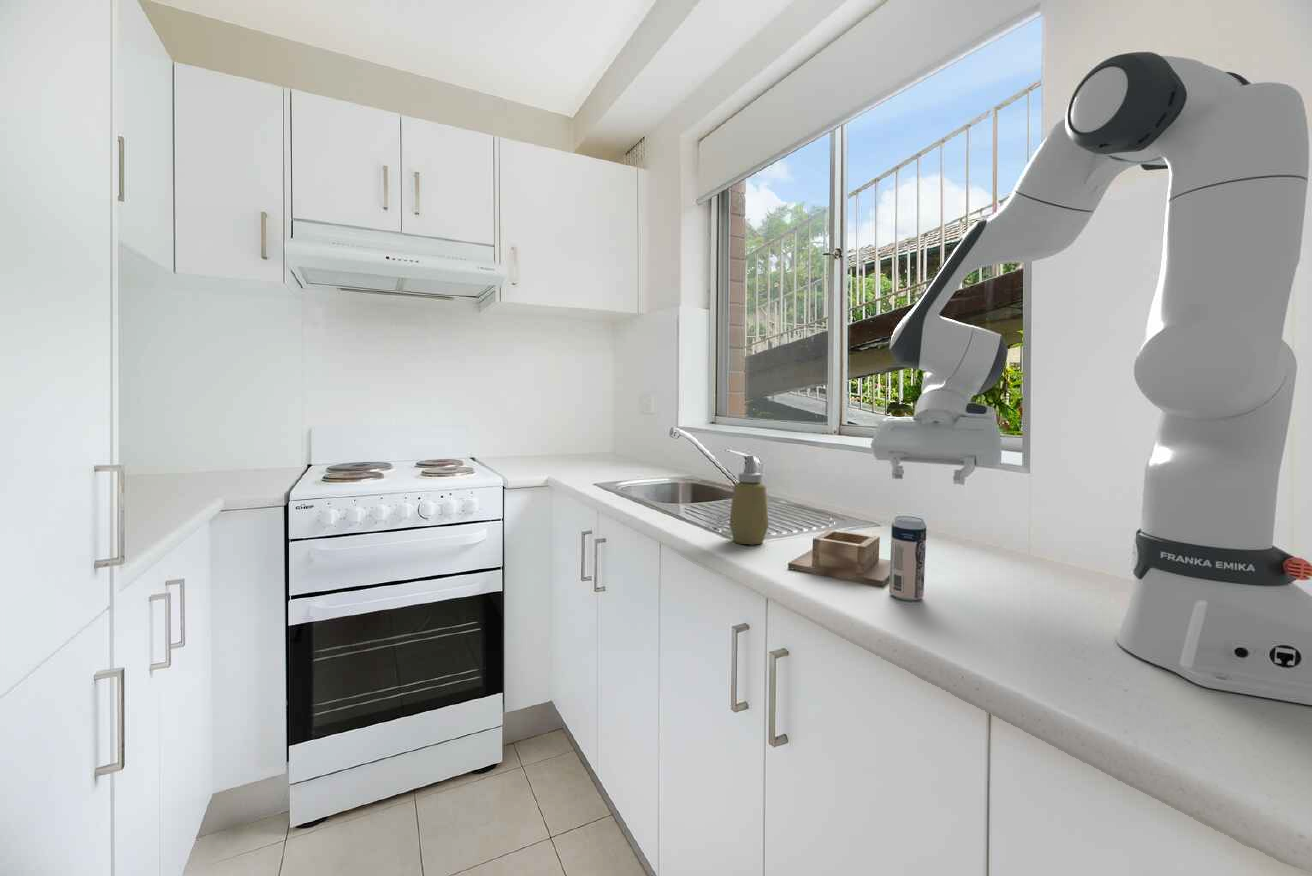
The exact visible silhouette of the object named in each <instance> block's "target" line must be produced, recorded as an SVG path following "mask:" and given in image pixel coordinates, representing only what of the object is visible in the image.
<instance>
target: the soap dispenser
mask: <svg viewBox="0 0 1312 876" xmlns="http://www.w3.org/2000/svg"><path fill="white" fill-rule="evenodd" d="M745 461H746V462H745V465H744V469H743V472H739V473H738V482H736V483H735V484H734V485H733V491H732V499H731V500H732V501H731V506H730V508H731V509H730V515H729V528H730V532H731V535H732V538H733V541H734V540H735V541H734V542H735V543H738V544H741V545H745V544H750V545H749V546H754V545H755V544H756V545H760V544H762V543H764V540H765V537H766V534H767V530H768V528H769V514H768V513H769V512H768V502H767V501H768V499H767V487H766V485H765V484H763V483H761V482H762V473H760V472H757V468H756V464H755V457H754V455H747V457H746V460H745Z"/></svg>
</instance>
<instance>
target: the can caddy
mask: <svg viewBox="0 0 1312 876" xmlns="http://www.w3.org/2000/svg"><path fill="white" fill-rule="evenodd" d="M880 538H881V537H880V536H879V535H871V534H865V533H857V532H850V531H845V530H839V529H838V530H837V529H829V530H826V531H824V532H823V533H820V534H819V535H817V536H815V537H813V538H812V549H810V550H809V551H807V552H805V553H804V554H802V555H800V556H798V557H796V558H794V559H793V560H791V561H789V562H788V563H787V569H788V568H793V569H797V570H796V571H798V570H802V571H801V572H803V571H805V572H804V573H808V572H809V574H813V575H814V574H815V575H818V574H821V575H820V576H823V575H824V577H829V578H834V579H840V580H843V581H849V582H856V583H860V584H864V585H872V586H875V587H880V588H883V587H885V585H887V584H889V582H890V559H885V558H880V542H881V540H880Z"/></svg>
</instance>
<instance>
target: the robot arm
mask: <svg viewBox="0 0 1312 876" xmlns="http://www.w3.org/2000/svg"><path fill="white" fill-rule="evenodd" d="M1309 137H1310V136H1309V128H1308V121H1307V114H1306V110H1305V104H1304V100H1303V97H1302V95H1301V93H1300V92H1299V91H1298V90H1297V89H1295V88H1294V87H1293V86H1291V85H1288V84H1285V83H1281V82H1270V81H1268V82H1267V81H1265V82H1263V81H1262V82H1255V83H1252V82H1250V81H1249V80H1247V79H1246V78H1245V77H1243V76H1242V75H1240V74H1238V73H1235V72H1231V71H1223V70H1221V69H1219V68H1216V67H1213V66H1211V65H1208V64H1204V63H1203V62H1201V61H1199V60H1195V59H1191V58H1186V57H1180V56H1172V55H1170V56H1169V55H1159V54H1158V53H1155V52H1151V51H1135V52H1128V53H1122V54H1117V55H1114V56H1112V57H1110V58H1107V59H1105V60H1104V61H1101V62H1100V63H1099V64H1097V65H1096V66H1095V67H1094V68H1092V69H1090V71H1089V72H1088V73H1087V74H1086V75H1085V76H1084V77H1083V78H1082V80H1081V81H1080V83H1079V84H1078V85H1077V87H1076V88H1075V89H1074V92H1073V93H1072V96H1071V97H1070V100H1069V102H1068V105H1067V107H1066V112H1065V117H1064V118H1063V119H1061V120H1060V121H1058V122H1057V123H1056V124H1055V125H1054V126H1053V127H1052V128H1051V130H1050V131H1049V132H1048V133H1047V135H1046V137H1045V138H1044V139H1043V141H1042V142H1040V144H1039V146H1038V148H1037V149H1036V150H1035V152H1034V154H1033V156H1032V157H1031V158H1030V160H1029V161H1028V163H1027V165H1026V166H1025V168H1024V170H1023V172H1022V174H1021V175H1020V177H1019V179H1018V181H1017V182H1016V185H1015V187H1014V189H1012V190H1013V191H1012V192H1011V195H1010V196H1009V197H1008V199H1007V200H1006V202H1005V203H1004V204H1003V205H1002V206H1001V207H1000V208H999V209H998V210H997V211H996V212H994V214H992V215H991V216H990V217H989V218H987V219H983V220H978V221H976V222H974V223H973V224H972V225H971V226H970V227H969V228H968V229H967V230H966V231H965V233H964V234H963V235H962V236H961V237H960V239H959V240H958V241H957V242H956V243H955V245H954V247H953V248H952V250H951V251H950V253H949V254H948V255H947V257H946V258H945V259H944V261H943V263H942V264H941V265H940V266H939V269H937V271H936V273H935V274H934V275H933V277H932V279H931V280H930V282H929V283H928V284H927V286H926V288H925V289H924V290H923V292H922V293H921V295H920V296H919V298H918V299H917V301H916V302H915V303H914V305H913V306H912V307H911V308H910V310H909V311H908V313H907V314H906V315H905V316H904V317H903V318H902V319H901V321H900V322H899V323H898V324H897V326H896V327H895V329H894V330H893V333H892V335H891V339H890V344H889V347H888V348H889V351H890V353H891V355H892V357H893V359H894V361H896V363H897V364H898V365H899V366H900V367H903V368H908V369H913V370H915V371H918V370H920V371H923V372H925V373H924V376H923V379H922V383H921V385H920V386H921V388H920V392H921V394H920V395H919V397H918V399H917V400H916V401H917V402H916V405H915V409H914V414H913V415H912V416H913V417H910V416H909V417H908V416H907V417H906V416H901V417H896V416H888V417H887V418H885V419H882V420H880V421H879V422H878V423H877V426H876V428H875V429H876V431H875V434H874V436H873V438H872V441H871V444H870V447H871V452H872V455H873V456H874V458H875V459H876V460H878V461H886V462H887V461H888V462H890V466H891V467H892V471H891V477H892V479H894V480H903V478H904V477H903V476H904V475H905V471H904V467H903V465H900V462H904V463H914V464H915V463H917V464H933V465H945V466H957V467H958V466H960V467H961V469H954V472H953V478H952V481H953V485H960V486H961V485H965V483H966V478H968V477H969V476H970V475H971V474H973V473H974V471H975V470H976V468H988V469H995V468H997V467H998V466H999V465H1001V463H1002V441H1001V440H1002V439H1001V431H1000V430H1001V429H1000V425H999V424H998V419H997V413H996V410H995V407H992V406H990V405H986V404H982V403H978V402H974V401H971V400H972V399H973V397H974V396H979V395H981V394H983V393H985V392H986V391H988V390H990V389H991V388H993V387H994V385H996V384H997V383H998V382H999V380H1000V379H1001V376H1002V375H1003V373H1004V370H1005V367H1006V364H1007V363H1006V362H1007V359H1008V353H1009V350H1008V347H1007V343H1006V340H1005V339H1004V337H1003V335H1002V334H1001V333H997V332H995V331H992V330H989V329H986V328H983V327H979V326H976V325H970V324H966V323H964V322H959V321H957V320H954V319H950V318H947V317H943V316H942V315H940V313H941V312H942V310H943V309H944V308H945V306H946V305H947V304H948V302H949V300H951V298H952V296H953V295H954V294H955V292H956V291H957V290H958V288H959V286H960V285H961V284H962V283H963V282H964V280H965V279H966V278H968V276H969V275H970V274H972V273H973V272H975V271H977V270H980V269H982V268H986V267H991V266H995V265H997V266H998V265H1005V264H1017V263H1018V264H1019V263H1029V262H1035V261H1040V260H1044V259H1046V258H1050V257H1052V256H1055V255H1057V254H1059V253H1061V252H1062V251H1064V250H1066V249H1067V248H1068V247H1070V246H1071V245H1072V244H1073V243H1074V242H1075V240H1077V238H1078V237H1079V236H1080V234H1081V233H1082V232H1083V230H1084V229H1085V227H1086V226H1087V224H1088V223H1089V222H1090V219H1091V218H1092V216H1093V215H1094V213H1095V211H1096V209H1097V207H1098V206H1099V204H1100V202H1101V200H1102V198H1103V197H1104V195H1105V194H1106V192H1107V189H1108V188H1109V187H1110V185H1111V184H1112V182H1113V181H1114V180H1115V179H1116V178H1117V177H1118V176H1119V175H1120V174H1121V173H1123V172H1124V171H1126V170H1127V169H1130V168H1133V167H1136V166H1139V165H1140V167H1141V169H1142V170H1145V171H1154V170H1157V171H1158V170H1166V169H1167V170H1168V173H1169V175H1168V179H1169V180H1168V188H1167V189H1168V190H1167V197H1166V206H1165V207H1166V208H1165V218H1164V219H1165V220H1164V229H1163V240H1162V242H1163V243H1162V252H1161V264H1160V271H1159V275H1158V276H1159V277H1158V282H1157V284H1156V285H1157V286H1156V289H1155V293H1154V295H1153V299H1152V301H1151V302H1152V303H1151V306H1150V310H1149V313H1148V317H1147V322H1146V325H1145V331H1144V334H1143V339H1142V344H1141V348H1140V349H1139V351H1138V353H1137V355H1136V357H1135V359H1134V360H1135V361H1134V364H1133V365H1134V366H1133V375H1134V379H1135V382H1136V385H1137V387H1138V388H1139V390H1140V392H1141V393H1142V394H1143V396H1144V397H1145V398H1146V399H1147V400H1149V402H1150V403H1151V404H1153V405H1154V406H1155V407H1157V408H1158V409H1160V410H1161V414H1160V418H1159V422H1158V426H1157V431H1156V435H1155V438H1154V442H1153V445H1152V449H1151V452H1150V455H1149V458H1148V459H1147V461H1146V465H1145V468H1144V481H1143V494H1142V497H1143V498H1142V507H1141V508H1142V509H1141V510H1142V511H1141V525H1140V528H1139V529H1138V530H1136V531H1135V532H1136V533H1135V539H1134V540H1133V549H1132V562H1131V563H1132V564H1131V565H1132V566H1131V568H1132V572H1133V575H1134V581H1133V587H1132V591H1131V595H1130V600H1129V603H1128V606H1127V610H1126V613H1125V616H1124V618H1123V621H1122V623H1121V625H1120V628H1119V629H1118V632H1117V633H1116V635H1115V640H1116V642H1117V644H1119V646H1120V647H1121V648H1123V649H1124V650H1126V651H1127V652H1129V653H1131V654H1132V655H1134V656H1136V657H1138V658H1140V659H1142V660H1144V661H1146V662H1149V663H1152V664H1154V665H1156V666H1158V667H1162V668H1165V669H1166V670H1169V671H1171V672H1174V673H1176V674H1178V675H1180V676H1181V677H1183V678H1185V679H1186V680H1189V681H1191V682H1192V683H1194V684H1197V685H1199V686H1202V687H1205V688H1208V689H1214V690H1219V691H1225V692H1231V693H1238V694H1243V695H1250V696H1256V697H1261V698H1266V699H1273V700H1279V701H1283V702H1285V701H1286V702H1291V703H1296V704H1297V703H1298V704H1303V705H1309V706H1312V595H1310V593H1308V592H1306V591H1305V590H1304V589H1302V588H1301V587H1300V586H1298V585H1297V584H1295V583H1294V582H1295V581H1297V580H1299V581H1308V580H1312V578H1311V577H1312V563H1311V562H1309V561H1308V560H1306V559H1304V558H1302V557H1296V556H1294V555H1292V554H1290V553H1288V552H1287V551H1284V550H1282V549H1281V548H1279V547H1276V546H1275V545H1273V542H1274V533H1275V532H1274V531H1275V523H1276V521H1275V520H1276V513H1277V512H1276V511H1277V498H1278V497H1277V496H1278V489H1279V488H1278V487H1279V478H1280V472H1281V467H1282V461H1283V456H1284V451H1285V447H1286V446H1285V445H1286V441H1287V435H1288V430H1289V423H1290V419H1291V413H1292V407H1293V400H1294V399H1293V398H1294V394H1295V393H1294V392H1295V388H1296V387H1295V385H1296V378H1297V371H1298V366H1297V365H1298V363H1297V359H1296V356H1295V354H1294V351H1293V349H1292V348H1291V347H1290V345H1289V344H1288V343H1287V342H1286V341H1285V340H1284V339H1283V334H1284V329H1285V328H1284V327H1285V322H1286V317H1287V311H1288V307H1289V302H1290V298H1291V297H1290V296H1291V292H1292V287H1293V283H1294V280H1295V276H1296V275H1295V274H1296V271H1297V268H1298V265H1299V262H1300V260H1301V259H1300V258H1301V250H1302V242H1303V241H1302V240H1303V231H1304V221H1305V212H1306V201H1307V195H1308V194H1307V193H1308V192H1307V191H1308V184H1309V171H1310V169H1309V167H1310V144H1309V143H1310V141H1309V140H1310V139H1309Z"/></svg>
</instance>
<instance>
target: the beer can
mask: <svg viewBox="0 0 1312 876" xmlns="http://www.w3.org/2000/svg"><path fill="white" fill-rule="evenodd" d="M927 528H928V527H927V525H926V523H925V520H924V519H923V518H920V517H917V516H909V515H908V516H906V515H897V516H895V517H894V519H893V521H892V523H891V533H890V534H891V535H890V537H891V538H890V541H891V542H890V559H889V560H890V581H889V582H888V584H889V585H888V591H889V592H888V593H889V594H890V595H891V596H893V597H894V598H895V599H898V600H900V601H901V600H902V601H908V602H914V601H915V602H917V601H918V600H920V599H922V598H924V593H925V592H924V591H925V573H926V571H925V570H926V569H925V568H926V547H927Z"/></svg>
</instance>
